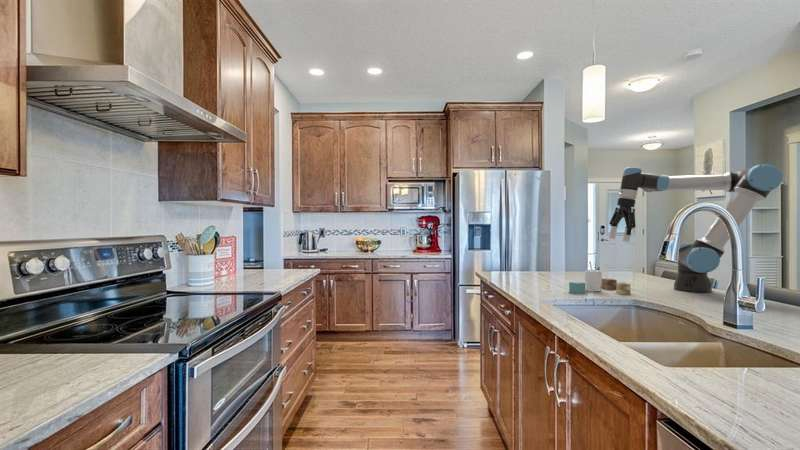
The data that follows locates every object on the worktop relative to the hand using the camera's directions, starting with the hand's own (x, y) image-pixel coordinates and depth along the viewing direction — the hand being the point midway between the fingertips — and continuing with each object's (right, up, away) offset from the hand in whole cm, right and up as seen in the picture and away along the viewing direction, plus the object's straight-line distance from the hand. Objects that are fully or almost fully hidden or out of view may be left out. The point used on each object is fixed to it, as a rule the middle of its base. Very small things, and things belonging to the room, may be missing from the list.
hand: (618, 240), depth 191 cm
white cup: (-14, -25, -2) cm, 29 cm away
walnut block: (-3, -25, +3) cm, 26 cm away
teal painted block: (-24, -25, -7) cm, 36 cm away
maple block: (-3, -25, -10) cm, 27 cm away
